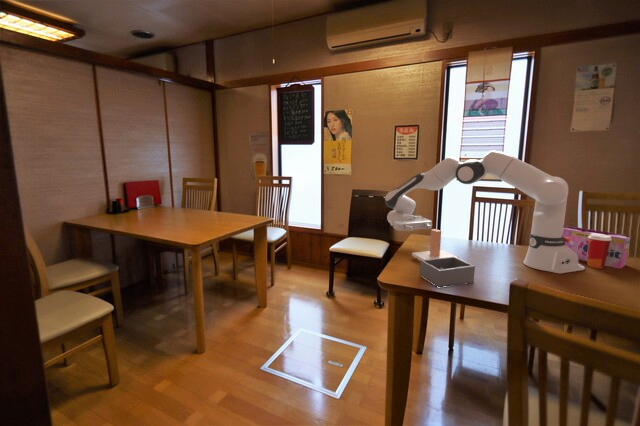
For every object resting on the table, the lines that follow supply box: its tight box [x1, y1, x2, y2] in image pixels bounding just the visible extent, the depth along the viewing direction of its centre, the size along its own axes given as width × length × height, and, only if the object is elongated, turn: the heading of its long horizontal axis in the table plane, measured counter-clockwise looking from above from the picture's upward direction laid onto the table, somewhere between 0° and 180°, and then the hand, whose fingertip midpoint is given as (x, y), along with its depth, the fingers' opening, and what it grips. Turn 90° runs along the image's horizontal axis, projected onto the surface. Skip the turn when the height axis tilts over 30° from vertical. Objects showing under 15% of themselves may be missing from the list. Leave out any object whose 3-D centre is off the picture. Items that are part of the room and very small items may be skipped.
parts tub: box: [419, 256, 476, 287], centre depth 125 cm, size 16×12×7 cm
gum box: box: [562, 225, 632, 270], centre depth 144 cm, size 24×8×14 cm, turn 33°
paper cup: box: [586, 233, 612, 269], centre depth 136 cm, size 8×8×14 cm
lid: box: [411, 228, 460, 262], centre depth 146 cm, size 16×12×15 cm
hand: (421, 228), depth 156 cm, fingers open, 8 cm apart
